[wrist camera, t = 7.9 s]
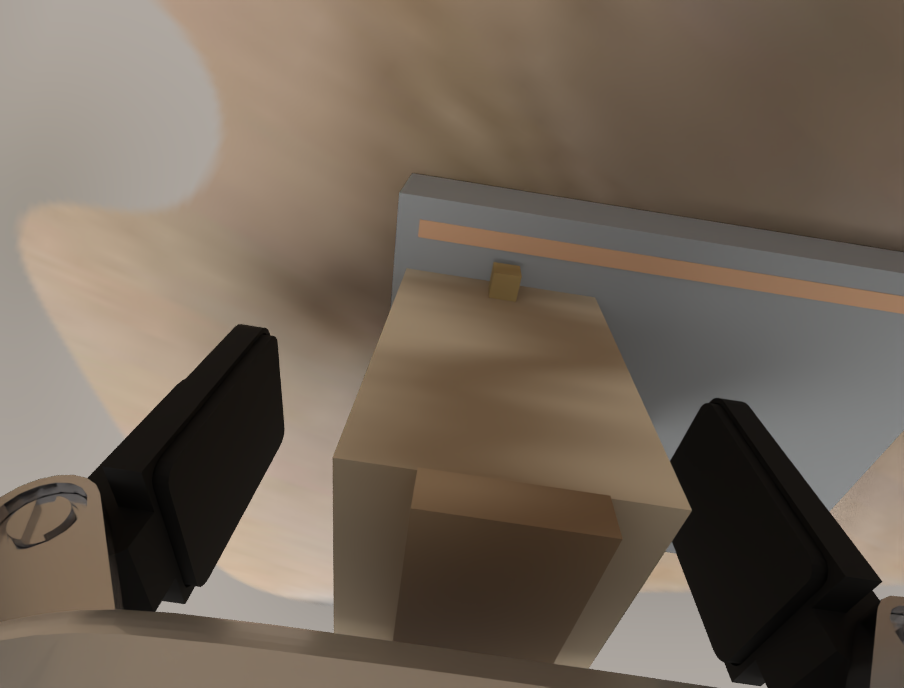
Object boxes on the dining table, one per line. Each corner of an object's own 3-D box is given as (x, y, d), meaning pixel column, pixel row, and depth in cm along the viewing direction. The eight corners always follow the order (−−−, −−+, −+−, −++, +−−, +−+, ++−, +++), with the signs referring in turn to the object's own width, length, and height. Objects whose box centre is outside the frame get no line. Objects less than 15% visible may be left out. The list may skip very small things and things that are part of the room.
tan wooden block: (602, 274, 10) (737, 521, 5) (547, 437, 13) (591, 714, 8) (409, 243, 10) (316, 459, 5) (393, 413, 13) (323, 677, 7)
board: (950, 259, 12) (1089, 319, 9) (770, 490, 16) (826, 575, 14) (412, 173, 11) (389, 208, 9) (389, 433, 16) (369, 508, 13)
